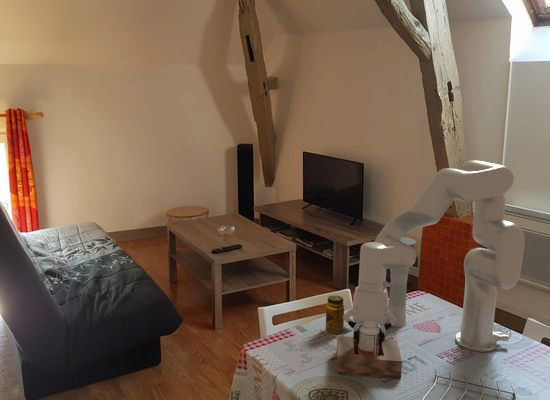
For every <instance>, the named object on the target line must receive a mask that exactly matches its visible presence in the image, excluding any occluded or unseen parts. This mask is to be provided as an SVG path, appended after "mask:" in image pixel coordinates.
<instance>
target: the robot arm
mask: <svg viewBox="0 0 550 400" xmlns="http://www.w3.org/2000/svg"><path fill="white" fill-rule="evenodd" d="M514 176H515V175H514V174H513V171H512V170H511V169H510V168H509V167H508V166H505V165H502V164H498V163H492V162H491V163H490V162H487V161H484V160H467V161H465V162H463V163H462V164H461V166H460V168H459V169H458V168H450V167H447V168H446V167H445V168H441V169H440V170H438V172H437V173H436V174H435V175H434V176H433V177H432V179H431V180H430V181H429V183H428V185H427V186H426V187H425V188H424V190H423V191H422V193H420V195H419V197H418V198H417V199H416V201H415V202H414V203H413V205H411V206H410V207H409V208H406V209H405V210H403V211H402V212H400V213H398V214H397V215H396V216H394V217H393V218H391V219H390V220H389V221H388V222H387V223H386V224H385V225H384V226H383V228H382V229H381V230H380V232H379V233H378V235H377V236H376V238H375V239H374V241H368V242H364V243H363V244H362V245H361V246H360V251H359V267H358V269H359V270H358V271H359V272H358V286H356V287H355V290H354V294H353V299H352V301H353V302H352V308H351V309H349V310H348V311H347V312H346V313H344V315H343V319H344V322H346V323H347V324H348V325H349V327H350V329H353V335H352V337H353V340H356V344H358V341H359V326H360V325H361V323H364V322H365V321H376V324H378V326H379V328H380V337H379V345H380V346H382V342H384V339H386V338H385V337H386V335H385V334H386V333H387V331H389V330H390V329H391V328H392V327H393V326H392V325H394V324H395V323H396V322H397V319H396V318H395V317H394V316H393V315H392V314H391V313H390V311H389V310H388V304H389V297H388V295H389V293H388V289H387V288H390V285H391V281H387V280H386V279H387V270H390V269H407V268H409V267H410V268H411V267H412V266H413V265H414V264H415V263H416V259H417V254H416V251H415V248H414V249H413V248H412V247H411V246H409V245H407V244H405V243H403V242H401V241H400V240H401V238H402V237H405V235H406V234H408V233H409V232H411V231H413V230H416V229H418V228H422V227H428V226H433V225H435V224H437V223H438V222H439V221H440V220H441V218H442V217H443V216H444V214H445V213H446V211H447V210H448V209H449V208H450V206H452V204H453V202H454V201H455V200H457V201H460V202H463V203H473V202H474V213H473V223H472V238H473V240H474V241H475V242H476V243H477V244H479V245H481V246H484V248H483V247H475V248H472V249H470V250H469V251H468V252H467V253H466V255H465V257H464V260H463V270H464V271H463V272H464V277H465V280H464V281H465V282H464V285H465V286H464V297H463V306H462V315H461V317H462V318H461V327H460V331H458V332H457V333H456V334H455V337H454V338H455V341H456V343H457V344H458V345H459V346H461V347H462V348H465V349H467V350H471V351H474V352H482V353H484V352H492V351H494V350H496V349H497V345H498V343H497V342H498V341H503V342H509V335H508V334H502V332H501V331H494V325H495V324H494V323H495V314H496V313H495V312H496V305H497V296H498V294H497V293H498V291H497V288H498V289H500V290H509V289H512V288H513V287H515V286H516V284H518V281H519V280H520V277H521V273H522V266H523V258H524V251H525V241H526V238H525V237H526V236H525V234H524V230H523V229H522V228H521V226H519V225H518V224H516V223H514V222H513V221H508V220H506V219H505V210H506V209H505V208H506V198H505V195H504V194H506V193H507V192H508V191H510V189H511V188H512V186H513V185H514V180H515V177H514ZM485 247H486V248H485ZM487 248H488V249H487ZM490 249H491V250H490ZM492 250H493V251H492ZM410 268H409V269H410ZM351 317H352V319H351ZM388 318H389V319H390V321H389V322H388Z"/></svg>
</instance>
